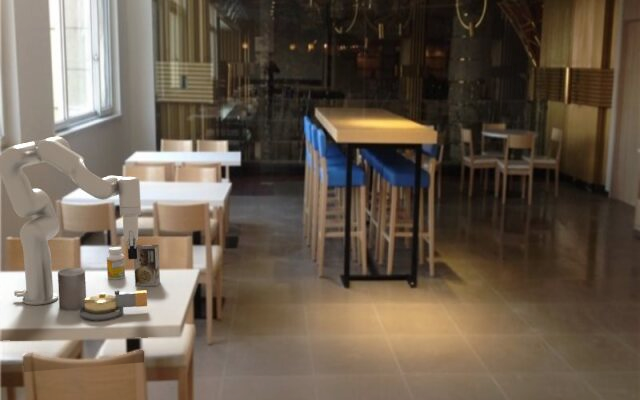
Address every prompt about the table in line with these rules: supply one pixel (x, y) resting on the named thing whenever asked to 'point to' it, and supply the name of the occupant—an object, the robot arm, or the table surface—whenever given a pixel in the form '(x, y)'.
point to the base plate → (101, 315)
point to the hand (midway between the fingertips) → (132, 258)
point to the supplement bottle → (115, 263)
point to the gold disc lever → (114, 301)
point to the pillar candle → (71, 288)
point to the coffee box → (147, 265)
